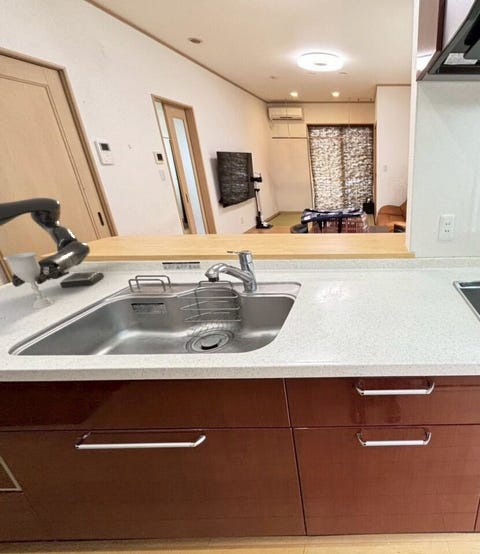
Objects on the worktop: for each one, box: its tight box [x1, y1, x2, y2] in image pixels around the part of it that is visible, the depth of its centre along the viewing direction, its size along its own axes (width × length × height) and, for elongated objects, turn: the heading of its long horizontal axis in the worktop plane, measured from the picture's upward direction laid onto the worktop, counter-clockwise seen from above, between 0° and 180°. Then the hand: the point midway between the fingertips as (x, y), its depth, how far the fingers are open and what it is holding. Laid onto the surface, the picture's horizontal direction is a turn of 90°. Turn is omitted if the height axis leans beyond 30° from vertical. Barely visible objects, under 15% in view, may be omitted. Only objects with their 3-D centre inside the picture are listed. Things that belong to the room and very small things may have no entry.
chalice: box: [2, 252, 54, 309], centre depth 99 cm, size 7×7×18 cm
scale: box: [59, 270, 105, 289], centre depth 120 cm, size 10×9×3 cm
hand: (26, 282), depth 97 cm, fingers closed on chalice, 5 cm apart
